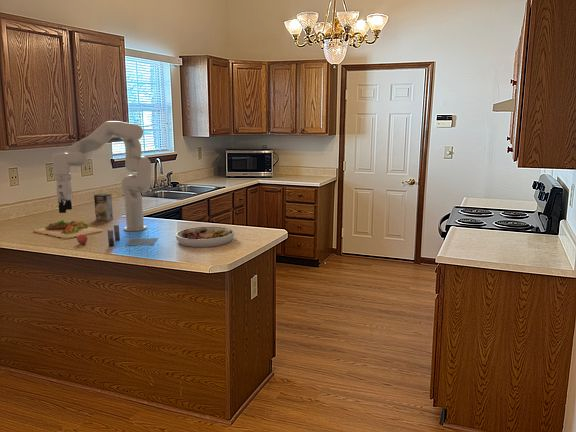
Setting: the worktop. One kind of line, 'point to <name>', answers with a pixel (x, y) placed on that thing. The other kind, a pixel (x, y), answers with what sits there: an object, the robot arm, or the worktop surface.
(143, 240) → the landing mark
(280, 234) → the worktop surface
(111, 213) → the coffee box
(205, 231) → the bowl
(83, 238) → the ball
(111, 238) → the post
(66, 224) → the wooden food tray
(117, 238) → the post
